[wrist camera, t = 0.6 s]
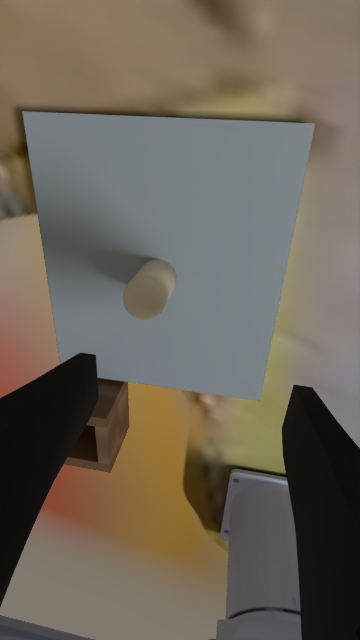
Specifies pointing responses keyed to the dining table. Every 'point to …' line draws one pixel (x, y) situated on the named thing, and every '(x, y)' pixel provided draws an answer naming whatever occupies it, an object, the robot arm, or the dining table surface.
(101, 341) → the grey rectangular slab
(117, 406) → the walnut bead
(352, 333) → the dining table surface
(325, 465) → the robot arm
